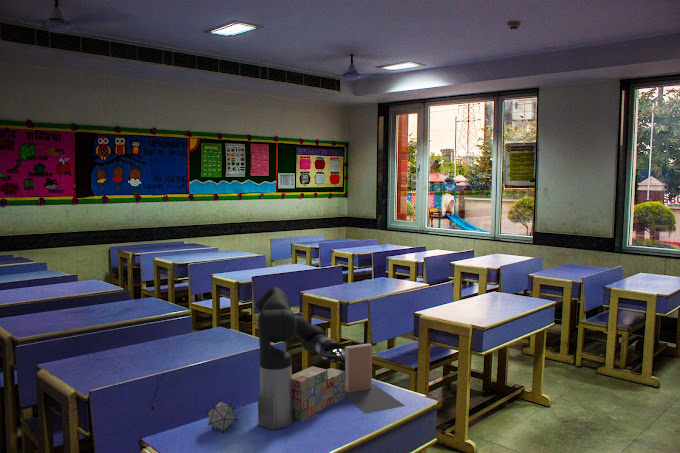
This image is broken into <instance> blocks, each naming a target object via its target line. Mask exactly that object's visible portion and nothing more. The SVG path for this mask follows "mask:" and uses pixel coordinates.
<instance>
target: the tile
mask: <svg viewBox="0 0 680 453" xmlns="http://www.w3.org/2000/svg"><path fill="white" fill-rule="evenodd" d="M372 348H373V346H372V343H363V344H356V345H348V346H344V350H345V364H344V367H345V370H344V371H345V381H346V389H345V390H346V391H347V392H353V391H359V390H364V389H370V388H372V384H373V383H372V382H373V378H372V376H373V373H372V371H373V370H372V369H373V366H372V365H373V364H372V363H373V359H372V358H373V355H372V352H373V351H372Z"/></svg>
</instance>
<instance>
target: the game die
mask: <svg viewBox="0 0 680 453" xmlns="http://www.w3.org/2000/svg"><path fill="white" fill-rule="evenodd" d="M218 401H219V402H217V404H215V405H212V408H211V409H210V410H209V411H207V410H206V411H205V414H208V415H207V416H208V419H209V422H208V426H210V425H211V426H212V427H211V430H212V429H217V430H220V431H222V434H224V435H225V431H226V430H227V429H228V428H229V427H231V425H232V424H233V423H234V422H235V421H239V419H238V418H236V416H235V411H234V410H235V408H236V407H232V404H233V403H232V402H230V403H229V404H228V403H227V402H223V401H222V400H221V398H219V399H218Z"/></svg>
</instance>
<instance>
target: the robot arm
mask: <svg viewBox="0 0 680 453" xmlns="http://www.w3.org/2000/svg"><path fill="white" fill-rule="evenodd" d="M255 307H256V309H257V310H258V312H259V314H258V318H257V320H258V321H257V328H258V330H257V331H258V342H259V392H258V393H257V420H258V422H257V423H258V426H260V427H263V428H265V429H266V428H267V429H269V430H273V431H276V430H277V429H283V428H287V427H289V426H290V425H292V423H293V418H292V375H293V374H292V373H293V368H292V365H293V363H292V361H293V360H292V358H293V357H292V354H290V353H289V352H287V351H285V350H282V349H280V348H277V347H275V346H274V345H272V343H283V342H286V343H287V342H289V341H292V340H294V338H295V337H296V338H297V339H298V340H299V339H300V346H301V348H303V350H305V351H306V352H310V353H317V354H318V356H320V357H321V361H322V362H326V363H327V362H328V363H333V364H338V363H340V364H342V365H345V348H343V346H342V345H340V343H338V341H335V340H333V339H332V338H331V337H327V336H326V335H325V331H324V329H323V328H322V327H320V326H317V325H315V324H311V323H309V322H307V320H305V318H303V317H302V316H299V315H297V314H295V313H294V311H293V310H291V307H290V299H289V297H288V295H287V294H286V293H285V292H284V291H283V290H282V289H281V288H279V287H277V286H273V287H270V288H269V289H268V290H267V291H266V292H265V293H263V295H261V296H260V297H259V298H258V299H257V301H256V302H255Z"/></svg>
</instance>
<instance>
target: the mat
mask: <svg viewBox="0 0 680 453" xmlns="http://www.w3.org/2000/svg"><path fill="white" fill-rule="evenodd" d="M345 399H347V400H348V401H350V402H351V403H352V405H354V406H356V408H358V409H359V410H360V411H362V412H363V413H364V414H365V415H367V414H370V413H376V412H381V411H386V410H391V409H396V408H400V407H406V405H405V404H404V403H402V402H401V401H400V400H398V399H396V398H395V397H393V396H392V395H390V394H389V393H388V392H386V391H385V390H384V389H382V388H380V387H379V386H377V385H376V384H375V383H372V388H370V389H364V390H359V391H353V392H347V391H346V398H345Z"/></svg>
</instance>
